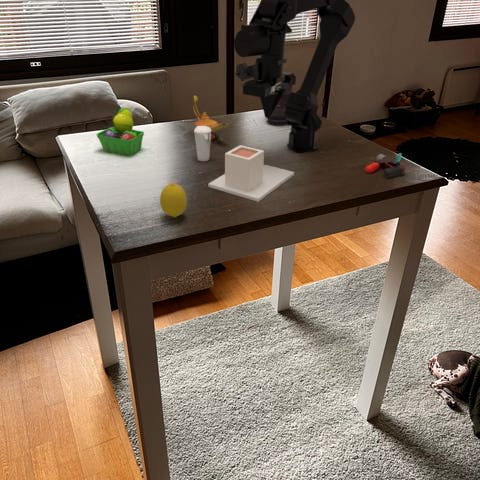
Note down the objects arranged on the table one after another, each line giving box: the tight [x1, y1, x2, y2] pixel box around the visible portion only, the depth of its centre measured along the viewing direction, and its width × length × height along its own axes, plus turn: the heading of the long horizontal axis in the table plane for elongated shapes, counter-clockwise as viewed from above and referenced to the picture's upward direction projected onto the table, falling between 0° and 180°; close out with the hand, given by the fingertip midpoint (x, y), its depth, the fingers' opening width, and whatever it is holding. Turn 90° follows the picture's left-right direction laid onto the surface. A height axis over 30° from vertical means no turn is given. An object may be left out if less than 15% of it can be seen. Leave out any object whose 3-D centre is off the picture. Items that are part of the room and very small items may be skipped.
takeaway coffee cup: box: [193, 125, 214, 162], centre depth 127 cm, size 4×5×10 cm
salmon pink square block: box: [234, 149, 256, 158], centre depth 112 cm, size 4×4×3 cm
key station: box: [207, 144, 295, 203], centre depth 116 cm, size 18×14×9 cm
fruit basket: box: [95, 107, 145, 157], centre depth 132 cm, size 11×9×11 cm
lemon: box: [159, 182, 188, 219], centre depth 100 cm, size 6×6×8 cm
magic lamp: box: [193, 95, 228, 140], centre depth 141 cm, size 7×18×11 cm, turn 36°
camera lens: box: [266, 83, 293, 127], centre depth 153 cm, size 8×8×15 cm
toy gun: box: [364, 152, 406, 180], centre depth 125 cm, size 10×12×5 cm
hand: (267, 117), depth 123 cm, fingers closed
